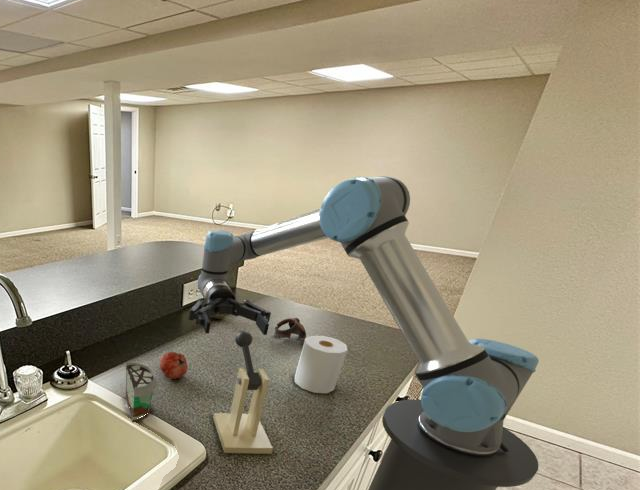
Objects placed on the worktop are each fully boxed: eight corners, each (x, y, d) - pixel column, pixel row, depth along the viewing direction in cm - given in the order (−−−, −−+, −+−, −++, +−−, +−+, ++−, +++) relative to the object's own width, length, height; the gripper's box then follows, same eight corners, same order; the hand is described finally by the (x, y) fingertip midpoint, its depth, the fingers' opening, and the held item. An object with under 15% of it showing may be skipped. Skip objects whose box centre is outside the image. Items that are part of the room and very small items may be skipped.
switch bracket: (213, 418, 94) (223, 358, 86) (255, 419, 94) (269, 360, 86) (224, 452, 84) (236, 389, 76) (271, 453, 84) (289, 390, 76)
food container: (159, 424, 91) (163, 387, 86) (133, 426, 90) (135, 389, 85) (148, 394, 102) (151, 360, 97) (124, 396, 101) (125, 361, 96)
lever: (232, 338, 91) (236, 327, 88) (248, 338, 91) (252, 328, 88) (242, 391, 83) (247, 381, 80) (259, 391, 83) (265, 382, 80)
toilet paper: (292, 387, 107) (303, 347, 101) (296, 370, 115) (306, 332, 109) (333, 397, 103) (347, 356, 97) (334, 379, 111) (347, 340, 105)
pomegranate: (154, 382, 111) (170, 377, 102) (151, 356, 112) (167, 348, 103) (178, 380, 114) (196, 375, 105) (175, 355, 115) (192, 348, 106)
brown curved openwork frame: (306, 350, 127) (298, 329, 124) (276, 354, 133) (268, 335, 130) (311, 328, 135) (304, 308, 131) (283, 333, 141) (275, 314, 137)
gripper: (260, 311, 114) (286, 344, 95) (173, 308, 113) (182, 341, 95) (266, 285, 110) (294, 315, 92) (175, 283, 110) (185, 312, 91)
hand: (237, 328), depth 93 cm, fingers open, 13 cm apart
